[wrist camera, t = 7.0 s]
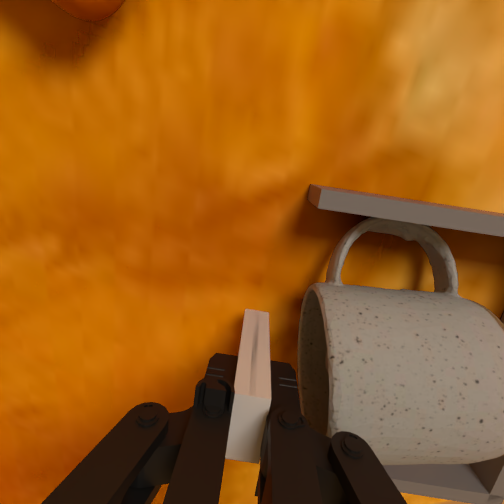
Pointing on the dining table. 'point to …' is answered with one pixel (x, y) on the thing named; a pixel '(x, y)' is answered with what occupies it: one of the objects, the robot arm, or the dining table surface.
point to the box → (500, 469)
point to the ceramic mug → (403, 361)
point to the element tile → (89, 8)
